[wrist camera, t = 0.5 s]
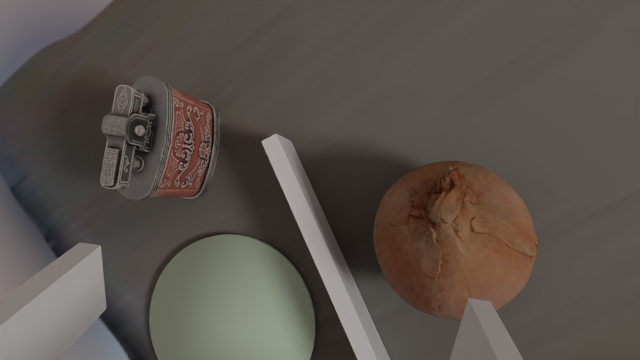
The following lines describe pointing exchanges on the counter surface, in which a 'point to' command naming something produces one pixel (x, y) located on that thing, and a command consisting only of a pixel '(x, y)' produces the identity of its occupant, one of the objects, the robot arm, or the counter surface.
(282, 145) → the low wall
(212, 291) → the pad
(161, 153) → the lighter
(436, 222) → the onion
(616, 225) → the counter surface
